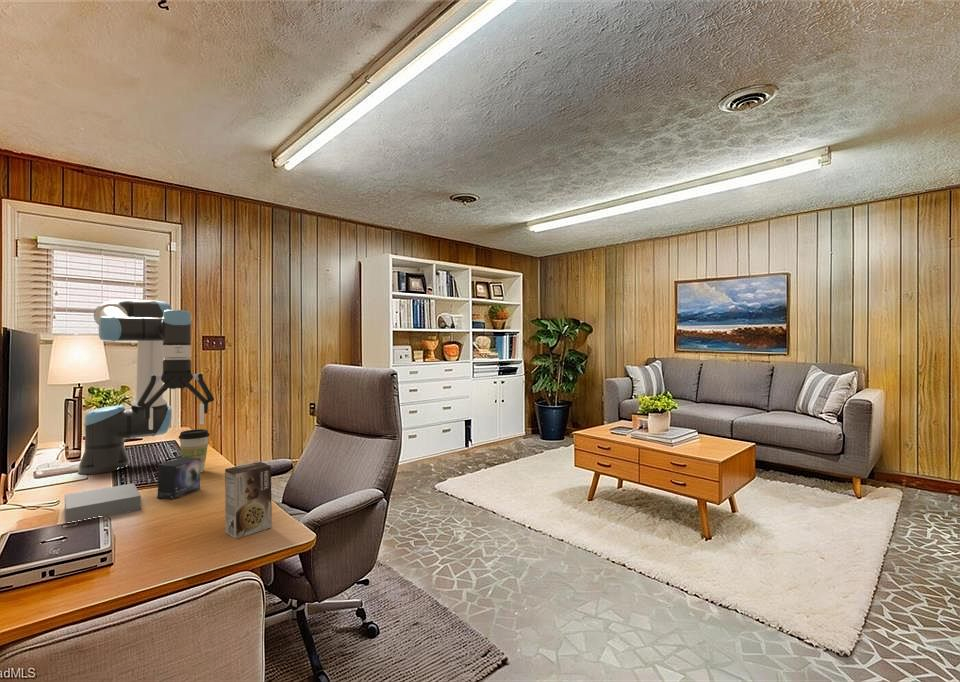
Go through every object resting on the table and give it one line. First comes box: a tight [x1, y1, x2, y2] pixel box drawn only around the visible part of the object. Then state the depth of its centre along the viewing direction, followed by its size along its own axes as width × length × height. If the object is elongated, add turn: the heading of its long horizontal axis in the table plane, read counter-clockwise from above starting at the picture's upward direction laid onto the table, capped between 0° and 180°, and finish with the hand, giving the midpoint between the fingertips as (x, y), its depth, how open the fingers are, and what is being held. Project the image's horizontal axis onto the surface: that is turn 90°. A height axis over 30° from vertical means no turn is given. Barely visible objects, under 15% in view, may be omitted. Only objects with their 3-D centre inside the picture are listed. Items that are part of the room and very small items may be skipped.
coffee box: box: [224, 461, 273, 539], centre depth 118 cm, size 9×6×16 cm
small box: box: [156, 457, 201, 500], centre depth 147 cm, size 11×6×10 cm, turn 168°
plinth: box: [64, 483, 142, 524], centre depth 134 cm, size 16×16×4 cm
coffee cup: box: [178, 428, 210, 473], centre depth 172 cm, size 10×10×15 cm
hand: (177, 426), depth 147 cm, fingers open, 13 cm apart
